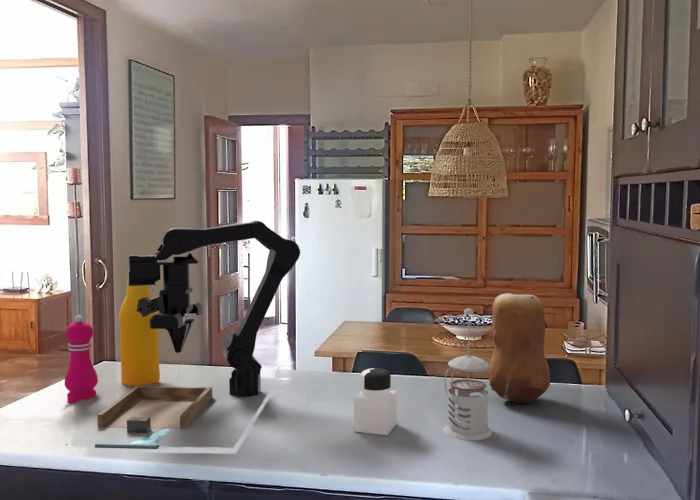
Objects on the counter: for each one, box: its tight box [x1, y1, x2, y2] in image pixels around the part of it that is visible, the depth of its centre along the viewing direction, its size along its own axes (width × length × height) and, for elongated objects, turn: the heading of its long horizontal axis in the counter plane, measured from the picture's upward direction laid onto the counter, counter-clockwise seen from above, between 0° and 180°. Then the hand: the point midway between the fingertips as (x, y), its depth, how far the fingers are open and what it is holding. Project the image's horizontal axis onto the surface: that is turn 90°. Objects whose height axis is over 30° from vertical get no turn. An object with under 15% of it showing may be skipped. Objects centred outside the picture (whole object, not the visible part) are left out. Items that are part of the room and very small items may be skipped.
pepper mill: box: [64, 314, 99, 405], centre depth 154 cm, size 7×7×20 cm
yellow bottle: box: [118, 277, 161, 387], centre depth 166 cm, size 9×9×29 cm
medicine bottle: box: [353, 367, 398, 436], centre depth 135 cm, size 7×7×12 cm
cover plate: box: [94, 417, 172, 450], centre depth 129 cm, size 12×8×4 cm, turn 86°
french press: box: [443, 308, 493, 441], centre depth 133 cm, size 10×12×25 cm
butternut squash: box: [488, 292, 551, 405], centre depth 151 cm, size 14×13×25 cm
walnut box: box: [96, 385, 214, 430], centre depth 143 cm, size 18×20×4 cm
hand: (178, 352), depth 150 cm, fingers closed
